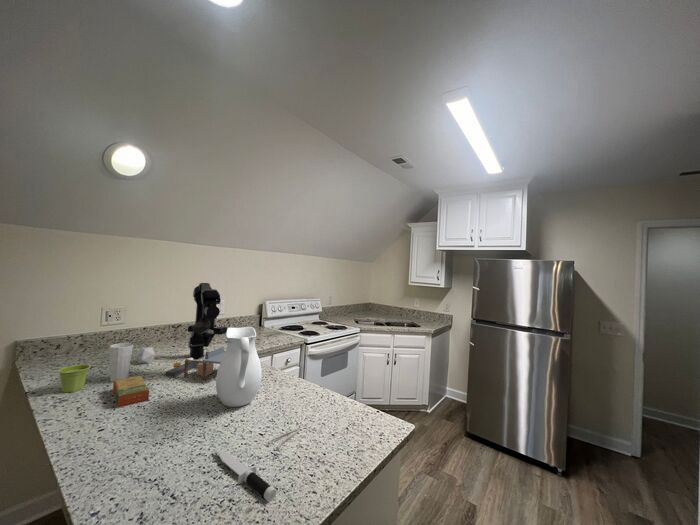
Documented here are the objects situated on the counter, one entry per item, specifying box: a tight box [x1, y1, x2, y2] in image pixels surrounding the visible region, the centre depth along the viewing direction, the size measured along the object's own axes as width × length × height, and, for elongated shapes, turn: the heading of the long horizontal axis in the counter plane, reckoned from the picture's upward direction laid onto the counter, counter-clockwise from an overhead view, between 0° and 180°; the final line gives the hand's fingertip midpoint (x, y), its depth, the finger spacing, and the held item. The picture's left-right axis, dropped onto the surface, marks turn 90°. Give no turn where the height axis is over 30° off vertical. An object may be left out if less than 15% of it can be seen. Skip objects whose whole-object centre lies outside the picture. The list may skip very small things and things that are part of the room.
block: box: [196, 362, 215, 377], centre depth 137 cm, size 5×5×5 cm
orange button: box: [173, 362, 182, 368], centre depth 135 cm, size 3×3×1 cm
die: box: [134, 346, 156, 365], centre depth 148 cm, size 8×9×10 cm
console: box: [165, 362, 200, 378], centre depth 139 cm, size 5×16×2 cm, turn 169°
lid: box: [202, 346, 226, 365], centre depth 135 cm, size 11×16×3 cm
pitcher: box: [215, 326, 263, 408], centre depth 107 cm, size 24×17×28 cm
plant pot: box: [57, 364, 91, 394], centre depth 113 cm, size 9×9×9 cm
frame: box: [183, 351, 210, 381], centre depth 137 cm, size 11×15×8 cm
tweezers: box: [266, 426, 304, 451], centre depth 89 cm, size 18×5×2 cm, turn 147°
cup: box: [108, 342, 134, 383], centre depth 125 cm, size 8×8×16 cm
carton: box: [112, 375, 150, 409], centre depth 110 cm, size 10×18×5 cm, turn 45°
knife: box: [213, 448, 277, 503], centre depth 71 cm, size 26×2×5 cm
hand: (206, 346), depth 137 cm, fingers closed
